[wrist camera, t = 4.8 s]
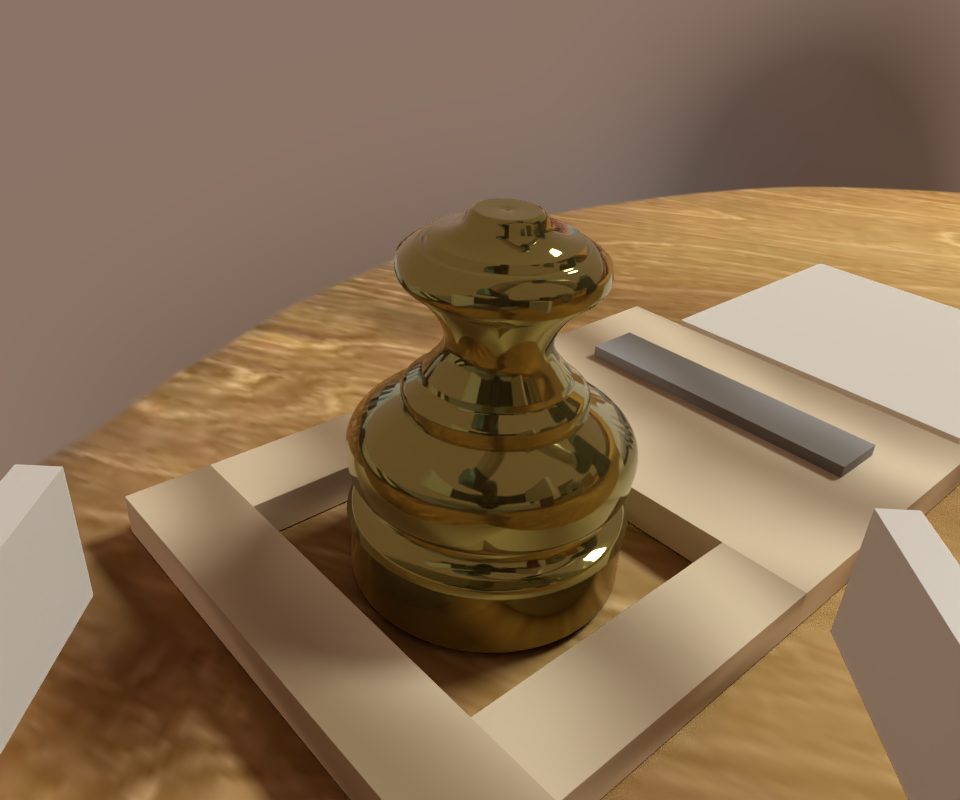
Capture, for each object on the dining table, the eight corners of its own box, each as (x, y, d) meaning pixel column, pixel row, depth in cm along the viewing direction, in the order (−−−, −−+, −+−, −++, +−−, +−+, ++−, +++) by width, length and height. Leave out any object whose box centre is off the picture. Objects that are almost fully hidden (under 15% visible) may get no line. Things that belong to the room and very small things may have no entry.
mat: (818, 270, 45) (820, 263, 44) (1070, 355, 37) (1073, 347, 37) (679, 328, 38) (681, 320, 37) (956, 448, 30) (960, 438, 30)
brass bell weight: (584, 478, 27) (628, 166, 22) (649, 656, 21) (730, 274, 16) (351, 484, 26) (342, 160, 21) (346, 670, 20) (330, 272, 15)
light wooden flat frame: (633, 331, 37) (638, 297, 36) (962, 481, 28) (979, 441, 27) (131, 530, 24) (122, 484, 23) (454, 927, 15) (457, 874, 14)
